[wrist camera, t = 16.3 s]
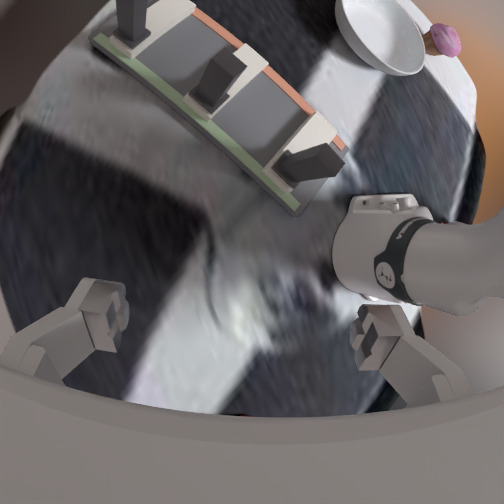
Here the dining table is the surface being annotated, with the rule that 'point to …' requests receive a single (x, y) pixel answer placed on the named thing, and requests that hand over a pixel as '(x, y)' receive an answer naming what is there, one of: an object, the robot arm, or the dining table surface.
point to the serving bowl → (382, 35)
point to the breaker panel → (238, 116)
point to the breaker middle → (217, 80)
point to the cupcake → (441, 41)
